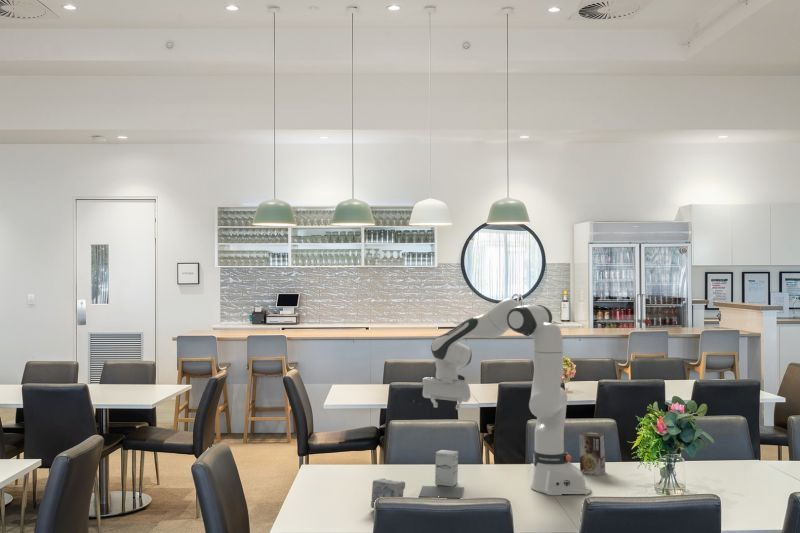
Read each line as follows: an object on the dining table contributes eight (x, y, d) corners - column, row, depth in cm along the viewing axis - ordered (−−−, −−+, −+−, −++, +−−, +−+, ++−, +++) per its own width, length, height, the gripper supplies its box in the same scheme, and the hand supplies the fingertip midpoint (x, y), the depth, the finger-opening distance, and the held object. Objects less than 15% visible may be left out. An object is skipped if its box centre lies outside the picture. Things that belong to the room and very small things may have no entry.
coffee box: (605, 472, 295) (605, 433, 295) (601, 476, 289) (600, 436, 290) (584, 469, 300) (583, 431, 300) (579, 473, 294) (578, 434, 294)
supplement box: (434, 485, 277) (434, 452, 278) (440, 481, 284) (440, 449, 285) (452, 487, 275) (452, 454, 275) (458, 483, 281) (458, 450, 282)
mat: (463, 488, 274) (463, 487, 274) (461, 498, 262) (461, 497, 262) (422, 486, 277) (422, 485, 277) (418, 497, 264) (418, 496, 264)
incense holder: (405, 508, 252) (405, 478, 252) (395, 515, 244) (394, 485, 245) (381, 504, 256) (381, 475, 257) (370, 511, 249) (370, 481, 249)
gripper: (423, 372, 300) (423, 401, 291) (470, 378, 302) (472, 406, 293) (420, 380, 305) (420, 409, 296) (467, 385, 307) (468, 414, 298)
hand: (446, 407), depth 295 cm, fingers open, 8 cm apart
